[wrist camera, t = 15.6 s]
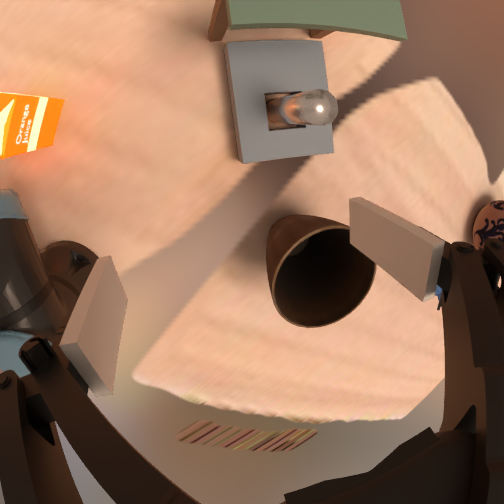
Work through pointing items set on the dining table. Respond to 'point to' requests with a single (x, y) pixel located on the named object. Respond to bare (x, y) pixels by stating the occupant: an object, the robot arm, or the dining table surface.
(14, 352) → the robot arm
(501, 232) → the ceramic pitcher
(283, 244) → the plant pot
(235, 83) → the socket block
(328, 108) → the steel peg
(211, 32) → the awning
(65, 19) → the dining table surface
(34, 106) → the orange juice
